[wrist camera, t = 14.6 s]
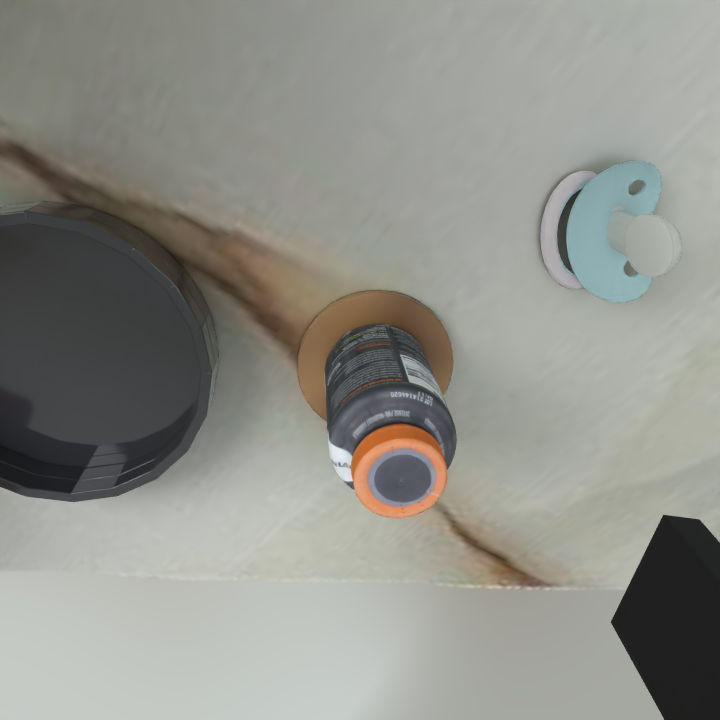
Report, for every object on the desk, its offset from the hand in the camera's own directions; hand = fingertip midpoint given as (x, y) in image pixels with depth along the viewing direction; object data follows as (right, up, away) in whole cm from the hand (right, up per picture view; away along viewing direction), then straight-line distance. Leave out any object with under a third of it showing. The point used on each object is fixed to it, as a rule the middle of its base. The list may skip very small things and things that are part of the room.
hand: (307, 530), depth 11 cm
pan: (-15, +4, +24) cm, 29 cm away
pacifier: (+14, +10, +24) cm, 29 cm away
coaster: (+2, +3, +26) cm, 26 cm away
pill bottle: (+2, +3, +26) cm, 26 cm away
